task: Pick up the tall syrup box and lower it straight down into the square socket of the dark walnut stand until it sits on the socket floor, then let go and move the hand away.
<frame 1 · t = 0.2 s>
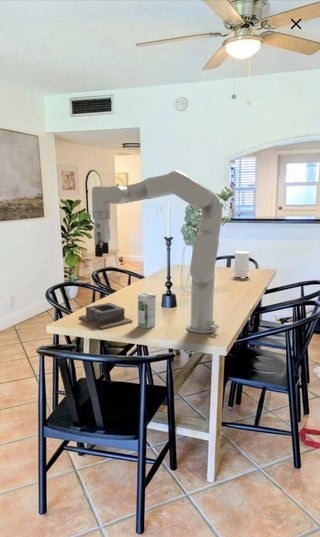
hand: (102, 255, 170), 31 cm above the table, tool pointing down, fingers open, 9 cm apart
socket stand: (105, 320, 178), on the table
decorative container: (241, 277, 281), on the table
syrup box: (146, 326, 171), on the table
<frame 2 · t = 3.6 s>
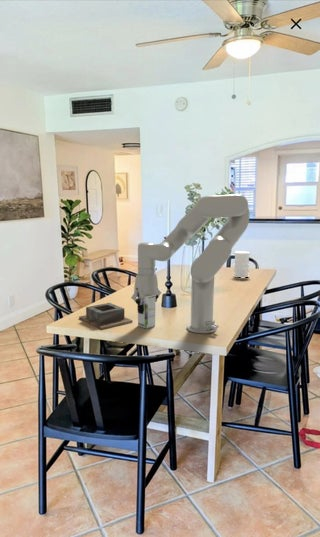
hand: (146, 311, 170), 7 cm above the table, tool pointing down, fingers closed on syrup box, 6 cm apart
syrup box: (146, 326, 171), on the table, touching gripper
everything else where it was.
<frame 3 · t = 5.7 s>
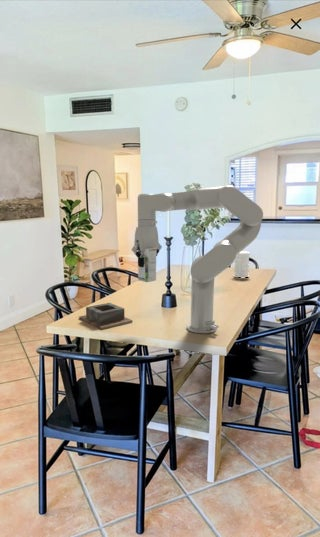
hand: (147, 265, 166), 27 cm above the table, tool pointing down, fingers closed on syrup box, 6 cm apart
syrup box: (147, 281, 167), point 20 cm above the table, touching gripper
everything else where it was.
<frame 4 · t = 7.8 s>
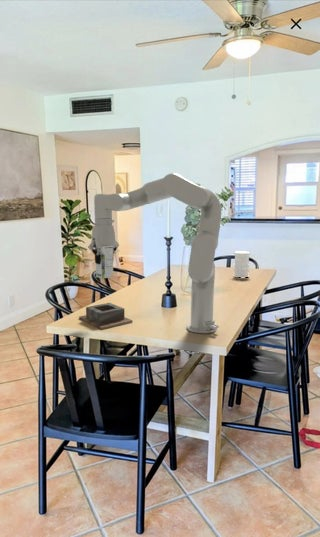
hand: (104, 262, 174), 27 cm above the table, tool pointing down, fingers closed on syrup box, 6 cm apart
syrup box: (104, 277, 175), point 20 cm above the table, touching gripper
everything else where it was.
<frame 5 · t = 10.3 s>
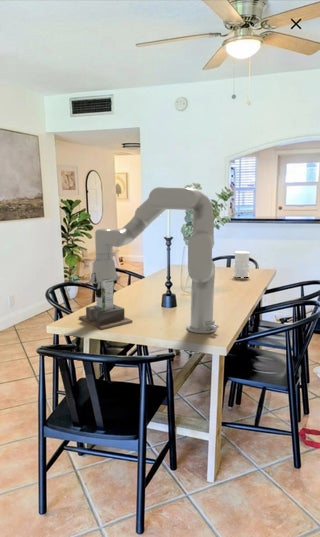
hand: (104, 295, 176), 12 cm above the table, tool pointing down, fingers closed on syrup box, 6 cm apart
syrup box: (105, 310, 177), point 5 cm above the table, touching gripper
everything else where it was.
when the fingers open (9 cm above the table, at t = 12.2 s): syrup box drops 1 cm, resting on socket stand.
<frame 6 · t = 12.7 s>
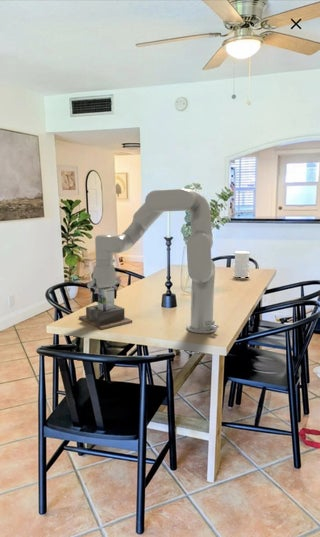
hand: (104, 299, 177), 10 cm above the table, tool pointing down, fingers open, 9 cm apart
syrup box: (106, 318, 178), point 1 cm above the table, touching socket stand
everything else where it was.
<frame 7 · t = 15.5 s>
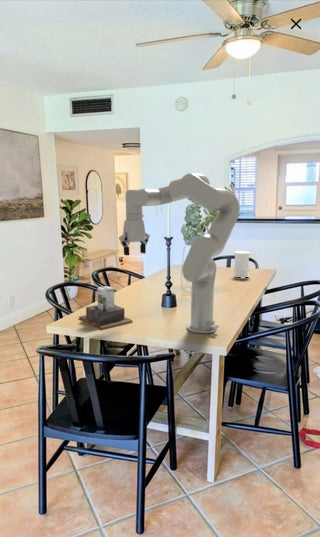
hand: (135, 254, 181), 30 cm above the table, tool pointing down, fingers open, 9 cm apart
nothing on the table moved.
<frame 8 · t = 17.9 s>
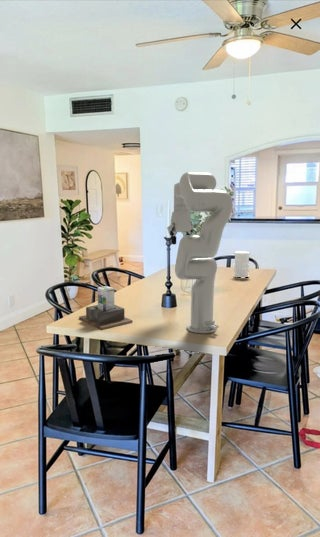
hand: (180, 243, 194), 33 cm above the table, tool pointing down, fingers open, 9 cm apart
nothing on the table moved.
at the end: syrup box 0.4 cm off-centre on the socket stand, point 0.8 cm above the socket stand's base; syrup box tilted 0°; the gripper is holding nothing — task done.
